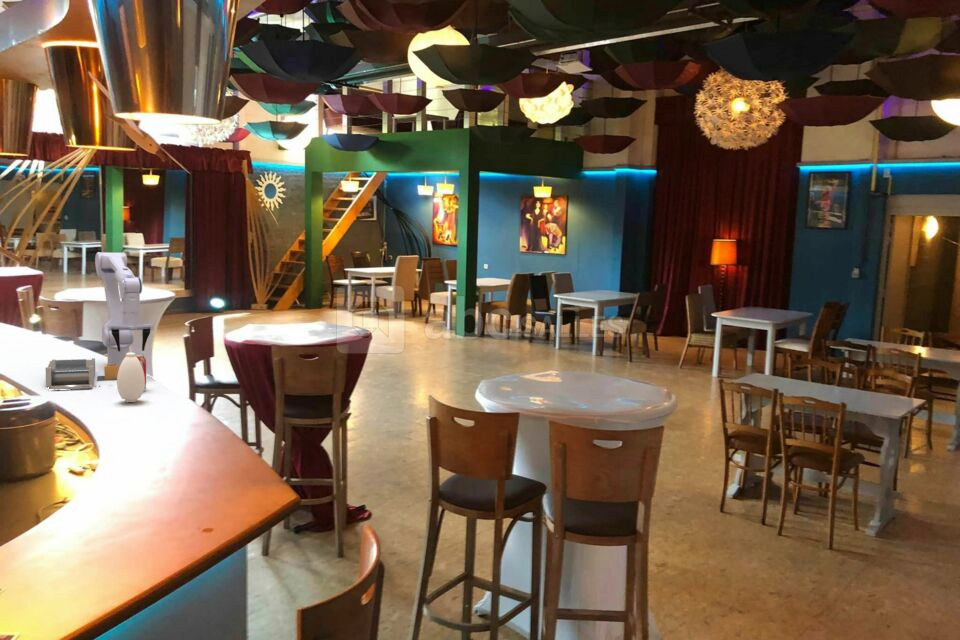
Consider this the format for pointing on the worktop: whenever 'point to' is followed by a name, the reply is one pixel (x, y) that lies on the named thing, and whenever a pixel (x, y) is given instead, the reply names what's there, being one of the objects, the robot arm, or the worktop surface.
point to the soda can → (142, 364)
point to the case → (70, 376)
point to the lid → (71, 365)
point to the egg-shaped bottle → (130, 378)
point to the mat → (101, 378)
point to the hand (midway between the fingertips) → (131, 350)
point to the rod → (72, 386)
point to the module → (111, 371)
